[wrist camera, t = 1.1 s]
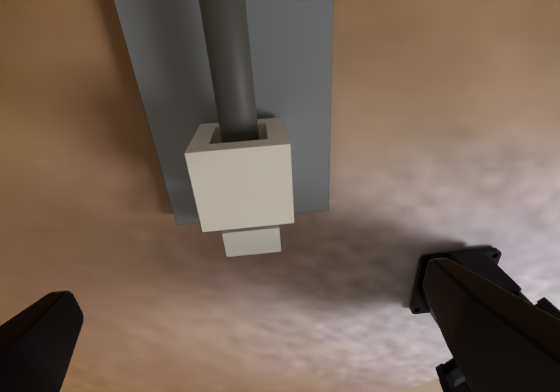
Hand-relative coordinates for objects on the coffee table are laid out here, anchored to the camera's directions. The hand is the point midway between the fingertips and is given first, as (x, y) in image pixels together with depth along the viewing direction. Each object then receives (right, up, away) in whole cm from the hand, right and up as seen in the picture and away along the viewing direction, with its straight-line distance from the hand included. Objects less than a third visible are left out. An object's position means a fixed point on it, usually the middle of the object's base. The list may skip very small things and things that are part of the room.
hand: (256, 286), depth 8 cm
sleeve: (-1, +5, +10) cm, 11 cm away
